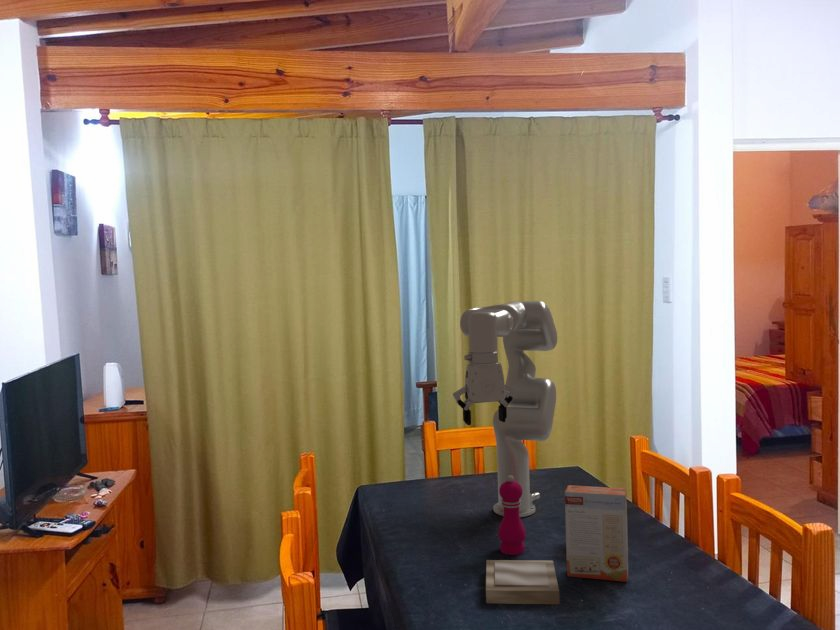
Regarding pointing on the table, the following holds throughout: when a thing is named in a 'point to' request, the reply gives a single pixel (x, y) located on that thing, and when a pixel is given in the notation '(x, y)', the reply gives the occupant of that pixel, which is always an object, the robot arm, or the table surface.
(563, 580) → the table surface
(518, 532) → the pepper mill
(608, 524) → the cracker box
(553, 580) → the birch plinth
